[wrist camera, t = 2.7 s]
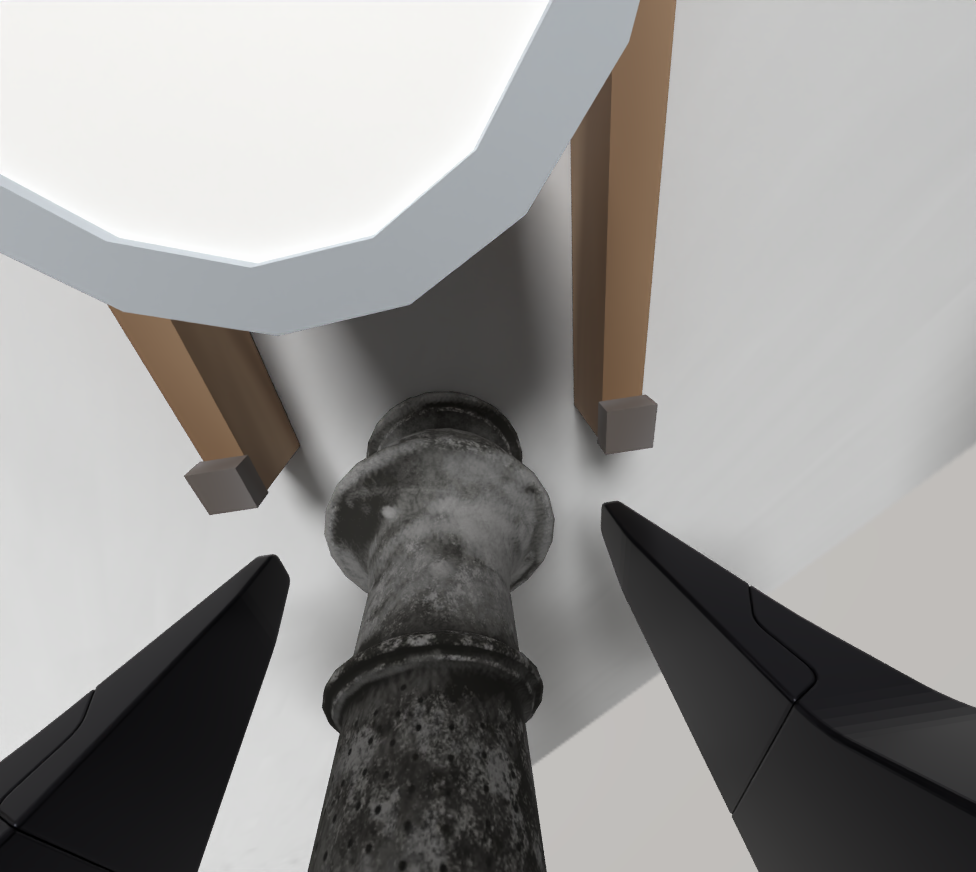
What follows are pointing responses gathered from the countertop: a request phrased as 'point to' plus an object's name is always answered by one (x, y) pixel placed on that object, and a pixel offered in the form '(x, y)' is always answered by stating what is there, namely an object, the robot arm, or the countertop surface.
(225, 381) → the wooden stand
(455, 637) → the salt shaker
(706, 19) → the countertop surface
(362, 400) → the countertop surface
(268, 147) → the white tapered cup
